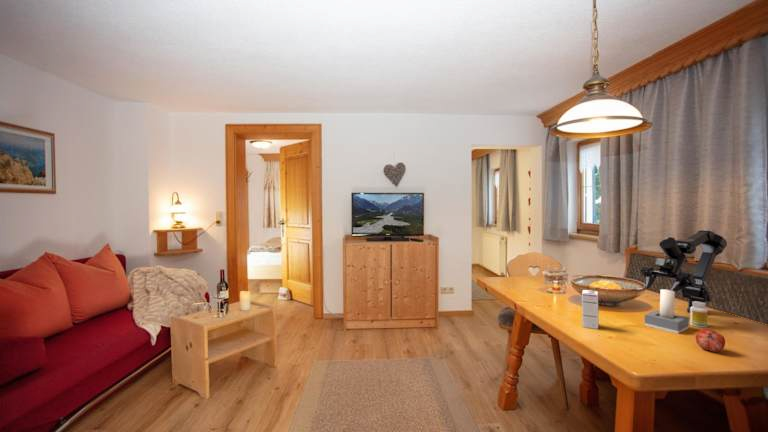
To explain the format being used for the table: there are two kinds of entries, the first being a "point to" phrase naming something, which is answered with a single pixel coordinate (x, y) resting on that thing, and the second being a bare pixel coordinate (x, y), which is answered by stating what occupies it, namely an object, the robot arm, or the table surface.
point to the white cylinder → (667, 303)
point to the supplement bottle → (698, 314)
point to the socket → (667, 322)
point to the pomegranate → (710, 340)
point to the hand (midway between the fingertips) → (658, 290)
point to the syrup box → (590, 309)
